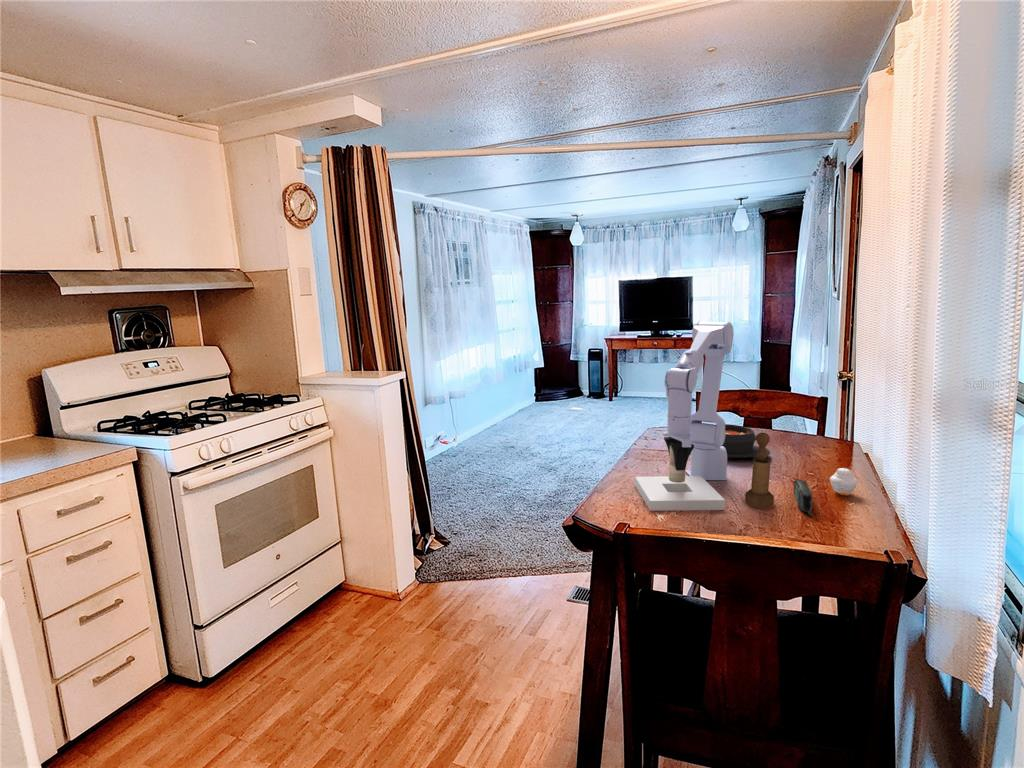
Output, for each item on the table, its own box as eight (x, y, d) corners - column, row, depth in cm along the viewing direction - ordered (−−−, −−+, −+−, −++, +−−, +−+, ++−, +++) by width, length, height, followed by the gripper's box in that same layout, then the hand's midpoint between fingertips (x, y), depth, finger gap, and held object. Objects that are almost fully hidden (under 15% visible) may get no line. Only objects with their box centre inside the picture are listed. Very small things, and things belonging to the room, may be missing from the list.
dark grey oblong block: (792, 477, 144) (802, 495, 130) (805, 478, 143) (817, 497, 129) (791, 495, 144) (801, 516, 130) (804, 496, 143) (816, 517, 129)
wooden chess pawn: (771, 510, 134) (775, 437, 131) (742, 505, 137) (746, 434, 135) (775, 501, 140) (779, 431, 137) (747, 496, 143) (751, 428, 140)
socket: (700, 484, 152) (700, 475, 152) (724, 509, 135) (724, 500, 134) (634, 485, 153) (635, 476, 152) (649, 510, 135) (650, 500, 135)
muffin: (842, 499, 140) (844, 472, 139) (823, 491, 146) (825, 465, 145) (862, 496, 142) (864, 470, 141) (842, 488, 148) (844, 463, 147)
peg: (682, 477, 145) (683, 444, 144) (687, 482, 141) (688, 448, 140) (667, 477, 145) (668, 444, 144) (671, 482, 141) (672, 448, 140)
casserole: (772, 451, 183) (773, 426, 181) (767, 467, 167) (768, 440, 165) (693, 443, 195) (694, 419, 194) (682, 456, 179) (682, 431, 178)
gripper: (656, 409, 148) (655, 459, 150) (671, 422, 133) (669, 476, 135) (683, 409, 147) (681, 458, 150) (700, 421, 133) (698, 476, 135)
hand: (677, 467), depth 142 cm, fingers closed on peg, 4 cm apart
